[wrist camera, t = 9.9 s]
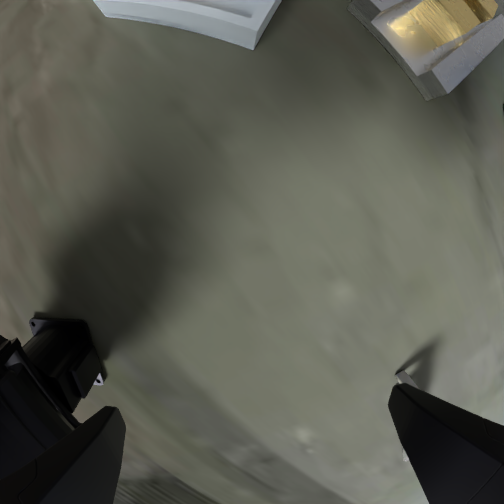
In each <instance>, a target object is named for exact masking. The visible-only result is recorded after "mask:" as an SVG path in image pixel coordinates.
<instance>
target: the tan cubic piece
mask: <svg viewBox="0 0 504 504" xmlns="http://www.w3.org/2000/svg"><path fill="white" fill-rule="evenodd" d="M409 13H410V14H411V15H412V16H413V17H414V18H415V20H416V21H417V22H418V23H419V24H420V25H421V26H422V28H423V29H424V30H425V31H426V32H427V34H428V35H429V36H430V37H431V39H432V40H433V41H434V42H435V44H436V45H437V46H438V47H440V46H441V45H443V44H445V43H447V42H449V41H451V40H453V39H455V38H458V37H460V36H462V35H464V34H466V33H467V32H469V31H470V30H471V29H473V28H474V27H475V26H477V25H478V24H479V23H481V22H480V21H479V19H478V18H477V17H476V15H475V14H474V13H473V12H472V10H471V9H470V8H469V7H468V5H467V4H466V3H465V2H464V0H423V1H422V2H421V3H419V4H418V5H417V6H415V7H414V8H413V9H412V10H410V11H409Z"/></svg>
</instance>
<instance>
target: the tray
mask: <svg viewBox="0 0 504 504" xmlns="http://www.w3.org/2000/svg"><path fill="white" fill-rule="evenodd" d="M93 1H94V2H95V4H96V5H97V6H98V7H99V9H100V10H101V11H102V12H103V14H104V15H105V16H106V17H112V18H121V19H129V20H136V21H143V22H149V23H154V24H160V25H165V26H170V27H174V28H179V29H183V30H187V31H191V32H195V33H199V34H203V35H207V36H210V37H214V38H217V39H220V40H224V41H227V42H230V43H233V44H236V45H239V46H242V47H245V48H248V49H251V50H254V48H255V46H256V45H257V43H258V41H259V39H260V37H261V36H262V34H263V32H264V30H265V28H266V27H267V25H268V23H269V21H270V20H271V18H272V16H273V15H274V13H275V11H276V10H277V8H278V6H279V5H280V3H281V1H282V0H93Z"/></svg>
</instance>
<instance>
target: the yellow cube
mask: <svg viewBox="0 0 504 504" xmlns="http://www.w3.org/2000/svg"><path fill="white" fill-rule="evenodd" d="M464 2H465V3H466V4H467V5H468V7H469V8H470V9H471V10H472V12H473V13H474V14H475V15H476V17H477V18H478V19H479V21H480V22H481V23H483V22H485V21H488V20H490V19H492V18H493V17H494V15H495V12H496V10H497V7H498V5H497V3H496V2H495V1H494V0H464ZM481 23H479V24H481ZM479 24H478V25H479Z"/></svg>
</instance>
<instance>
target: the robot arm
mask: <svg viewBox="0 0 504 504" xmlns="http://www.w3.org/2000/svg"><path fill="white" fill-rule="evenodd" d="M29 323H30V326H31V330H32V333H33V335H34V336H33V337H32V338H31V339H30V340H29V341H28V342H27V343H26V344H25V345H24V346H23V347H22V346H21V343H20V341H19V340H18V338H15V339H13V340H11V341H10V340H8V339H6V338H4V337H3V336H1V335H0V504H113V501H114V496H115V492H116V487H117V483H118V478H119V474H120V470H121V464H122V456H123V447H124V440H125V432H126V426H125V422H124V420H123V418H122V416H121V413H120V411H119V409H118V408H117V407H112V406H105V407H104V408H102V409H101V410H100V411H98V412H97V413H96V414H94V415H93V416H92V417H90V418H89V419H88V420H86V421H85V422H84V423H79V422H78V420H77V419H76V418H75V417H74V416H73V415H72V414H71V413H73V412H74V410H75V408H76V407H77V405H78V403H79V401H80V400H81V398H85V397H86V396H87V394H88V392H89V391H90V389H91V387H92V386H93V385H103V383H104V381H105V379H104V376H103V374H102V371H101V370H102V368H101V365H100V362H99V359H98V356H97V353H96V350H95V347H94V345H93V343H92V340H91V336H90V333H89V329H88V326H87V323H86V322H85V321H83V320H74V319H54V318H38V317H33V318H31V319H30V321H29ZM34 323H35V324H34ZM80 325H82V326H83V328H82V327H81V326H80ZM98 379H99V380H98ZM388 407H389V411H390V413H391V416H392V419H393V422H394V425H395V427H396V430H397V433H398V436H399V439H400V442H401V444H402V446H403V448H404V450H405V452H406V454H407V456H408V458H409V461H410V463H411V465H412V467H413V469H414V471H415V473H416V475H417V478H418V480H419V482H420V484H421V486H422V488H423V491H424V493H425V495H426V497H427V500H428V502H429V504H504V426H503V425H500V424H498V423H495V422H492V421H490V420H488V419H485V418H482V417H480V416H478V415H476V414H473V413H471V412H469V411H466V410H464V409H462V408H460V407H457V406H455V405H453V404H451V403H448V402H446V401H444V400H442V399H440V398H437V397H435V396H433V395H431V394H429V393H427V392H424V391H422V390H420V389H418V388H416V387H414V386H412V385H410V384H408V383H400V384H396V385H394V387H393V389H392V392H391V395H390V398H389V402H388Z"/></svg>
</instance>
